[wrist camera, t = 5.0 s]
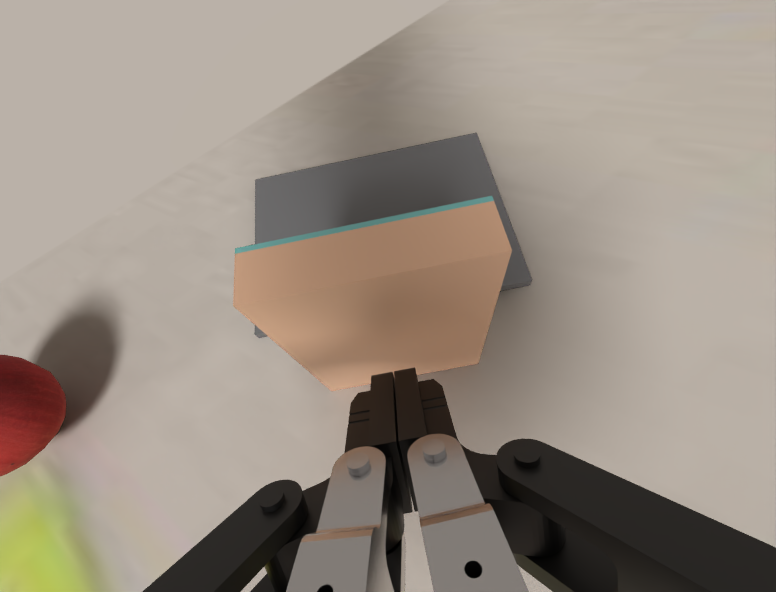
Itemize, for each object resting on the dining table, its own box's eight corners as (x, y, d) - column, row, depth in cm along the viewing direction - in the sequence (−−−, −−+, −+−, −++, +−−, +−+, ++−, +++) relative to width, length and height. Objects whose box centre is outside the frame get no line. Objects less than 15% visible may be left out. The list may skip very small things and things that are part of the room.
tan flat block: (331, 391, 21) (233, 306, 11) (328, 355, 22) (235, 248, 12) (478, 363, 20) (511, 250, 11) (469, 329, 21) (492, 195, 12)
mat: (259, 338, 23) (254, 334, 22) (258, 185, 28) (255, 179, 28) (529, 285, 22) (532, 280, 21) (475, 139, 27) (476, 132, 27)
